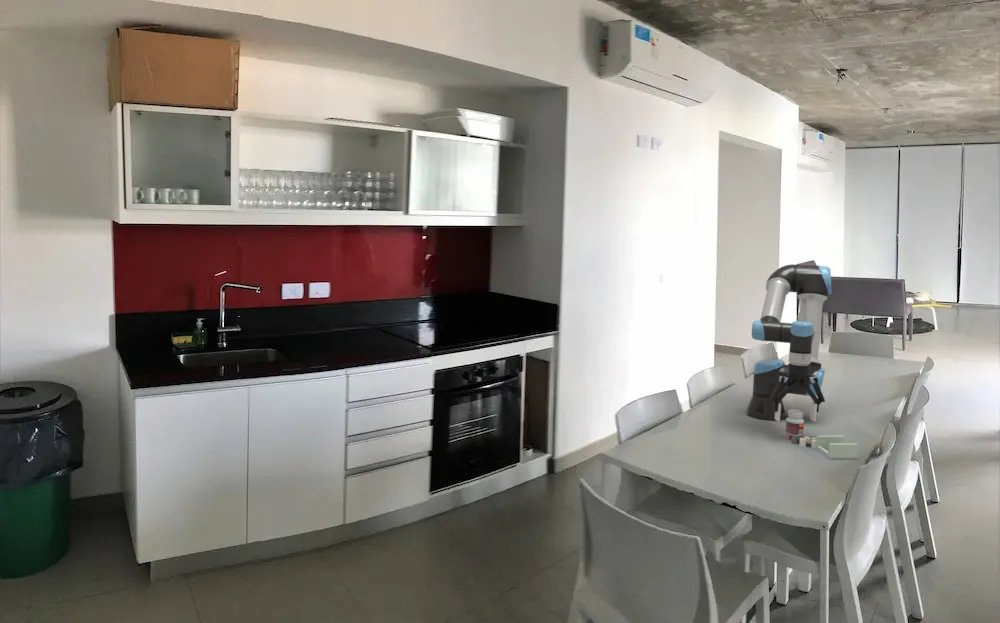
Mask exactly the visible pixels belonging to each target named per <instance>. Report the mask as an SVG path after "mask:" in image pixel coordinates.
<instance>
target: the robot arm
mask: <svg viewBox="0 0 1000 623" xmlns="http://www.w3.org/2000/svg"><path fill="white" fill-rule="evenodd" d="M765 291H766V294H765V298H764V303H763V305H762V312H761V315H760V319H759V320H754V321H753V322H752V324H751V338H752V339H753V340H756V341H761V342H774V343H776V342H777V343H784V344H785V343H786V344H787V343H788V344H789V350H788V364H786V363H785V360H782V359H763V360H760V361H757V362H755V364H754V368H753V383H752V396H751V398H750V401H749V402H748V406H747V409H746V414H747V416H750V417H751V418H754V419H759V420H766V421H767V420H768V421H777V422H780V421H781V420H784V419H785V418H786V409H785V405H784V401H783V399H784V398H785V397H786V396H787V395H788V394H791V395H799V396H805V397H807V396H809V397H810V399H811V400H812V401H813V402H812V401H811V404H810V406H811V407H810V417H809V418H810V421H812V422H817V413H819V411H820V405H821V404H822V403H825V402H826V400H825V396H824V395H823V392H822V385H823V381H824V376H825V372H826V370H825V368H823V367H822V363H821V362H820V360H819V352H820V339H821V327H822V318H823V317H822V316H823V306H824V305H823V304H824V302H826V300H828V296H831V295H832V292H833V290H832V277H831V269H830V267H828V266H827V265H826V266H825V265H820V264H819V265H818V264H817V265H813V264H786V265H783V266H781V267H779V268H777V269H776V270H775V271H773V273H771V274H770V275H769V277H768V279H767V280H766V283H765ZM789 293H796V297H797V298H798V299H799V300H800V303H799V313H798V320H797V321H792V322H781V320H782V316H783V312H784V308H785V304H786V298H787V295H789Z"/></svg>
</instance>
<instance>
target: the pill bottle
mask: <svg viewBox="0 0 1000 623" xmlns="http://www.w3.org/2000/svg"><path fill="white" fill-rule="evenodd" d="M787 416H788V417H786V419H785V434H784V438H785V439H787V440H789V441H790V440H791V441H792V435H795V434H800V435H803V436H804V427H805V420H804V419H803V417H804V411H802V410H800V409H789V410H787Z"/></svg>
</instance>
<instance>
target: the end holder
mask: <svg viewBox="0 0 1000 623" xmlns="http://www.w3.org/2000/svg"><path fill="white" fill-rule="evenodd" d="M815 438H816V450H817V451H819V452H820V453H822V454H823V455H825V456H826V457H828V458H829V459H828V460H834V459H835V460H846V459H845V458H857V456H858V446H859V444H858V443H857V442H856V443H854V442H851V443H845V435H816V437H815ZM827 450H828V451H827ZM857 459H858V458H857Z"/></svg>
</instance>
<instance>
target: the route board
mask: <svg viewBox="0 0 1000 623" xmlns="http://www.w3.org/2000/svg"><path fill="white" fill-rule="evenodd" d="M816 438H817V437H808V436H804V434H803V435H800V434H795V435H792V440H791V444H792V445H794V446H795V447H797V448H798V449H800V450H801V451H803V452H804V453H805V454H807V455H809V456H810V457H812V459H814V460H830V459H829V458H828V457H826V456H825V455H823V454H822V453H820V452H819V451H817V450H816ZM827 451H828V450H827ZM852 459H853V460H854V459H855V460H857V459H858V458H845V459H844V460H852Z"/></svg>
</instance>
